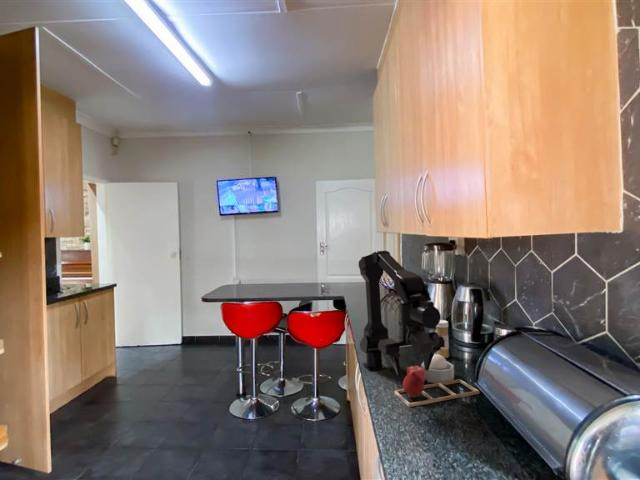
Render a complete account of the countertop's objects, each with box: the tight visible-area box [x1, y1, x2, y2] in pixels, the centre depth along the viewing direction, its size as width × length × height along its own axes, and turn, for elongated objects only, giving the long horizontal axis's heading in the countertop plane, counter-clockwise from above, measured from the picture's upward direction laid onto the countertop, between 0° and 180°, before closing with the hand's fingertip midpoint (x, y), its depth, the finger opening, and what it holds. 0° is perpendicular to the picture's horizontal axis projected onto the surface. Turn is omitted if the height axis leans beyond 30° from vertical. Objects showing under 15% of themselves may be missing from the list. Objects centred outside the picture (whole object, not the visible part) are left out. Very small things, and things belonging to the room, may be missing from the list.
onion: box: [402, 370, 425, 399], centre depth 106 cm, size 6×6×8 cm
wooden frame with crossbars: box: [393, 378, 480, 408], centre depth 108 cm, size 9×23×1 cm, turn 105°
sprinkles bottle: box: [435, 319, 450, 359], centre depth 138 cm, size 5×5×13 cm
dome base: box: [406, 360, 455, 384], centre depth 119 cm, size 10×15×4 cm, turn 105°
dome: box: [429, 353, 449, 370], centre depth 119 cm, size 7×7×6 cm
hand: (412, 372), depth 106 cm, fingers open, 9 cm apart
